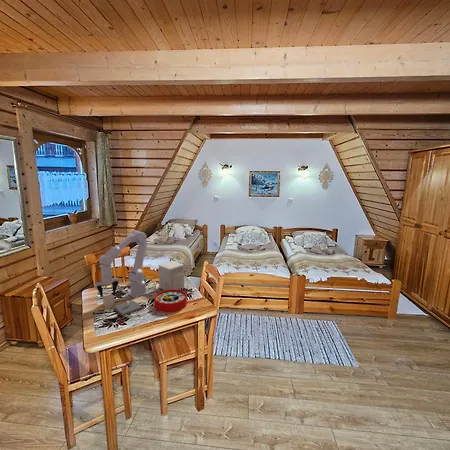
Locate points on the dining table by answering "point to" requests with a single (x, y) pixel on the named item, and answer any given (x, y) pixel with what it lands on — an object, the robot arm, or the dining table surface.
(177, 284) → the supplement box
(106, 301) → the block
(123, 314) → the stub plate
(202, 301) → the dining table surface
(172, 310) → the toy clock
